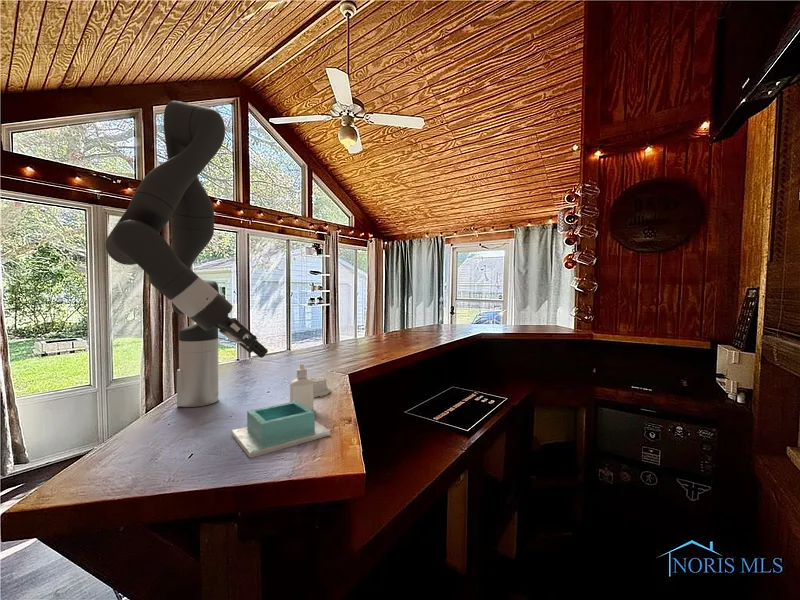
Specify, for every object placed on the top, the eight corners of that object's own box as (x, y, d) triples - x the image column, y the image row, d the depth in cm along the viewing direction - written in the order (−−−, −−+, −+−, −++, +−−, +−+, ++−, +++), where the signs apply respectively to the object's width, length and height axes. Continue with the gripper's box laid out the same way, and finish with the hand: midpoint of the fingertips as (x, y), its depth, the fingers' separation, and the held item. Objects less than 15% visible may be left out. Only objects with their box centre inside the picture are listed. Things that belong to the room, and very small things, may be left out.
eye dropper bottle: (311, 414, 85) (311, 365, 84) (288, 414, 84) (288, 365, 84) (314, 408, 89) (314, 362, 89) (292, 408, 89) (292, 362, 88)
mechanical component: (289, 397, 99) (322, 399, 97) (290, 382, 99) (322, 384, 97) (305, 388, 109) (335, 390, 107) (305, 374, 109) (335, 376, 107)
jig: (249, 458, 62) (249, 430, 62) (231, 435, 72) (231, 411, 72) (330, 435, 72) (330, 411, 72) (304, 417, 82) (304, 397, 82)
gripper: (224, 290, 68) (281, 343, 76) (209, 291, 79) (260, 336, 87) (193, 318, 65) (256, 370, 73) (183, 315, 76) (238, 360, 84)
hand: (258, 352), depth 80 cm, fingers open, 8 cm apart
